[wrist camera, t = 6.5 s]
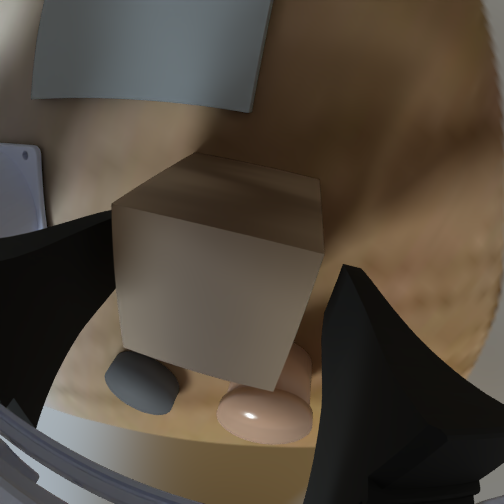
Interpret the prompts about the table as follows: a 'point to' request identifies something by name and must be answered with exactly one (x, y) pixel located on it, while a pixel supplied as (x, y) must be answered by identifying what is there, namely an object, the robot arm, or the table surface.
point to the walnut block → (217, 266)
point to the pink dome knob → (272, 405)
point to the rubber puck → (142, 383)
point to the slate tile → (152, 50)
